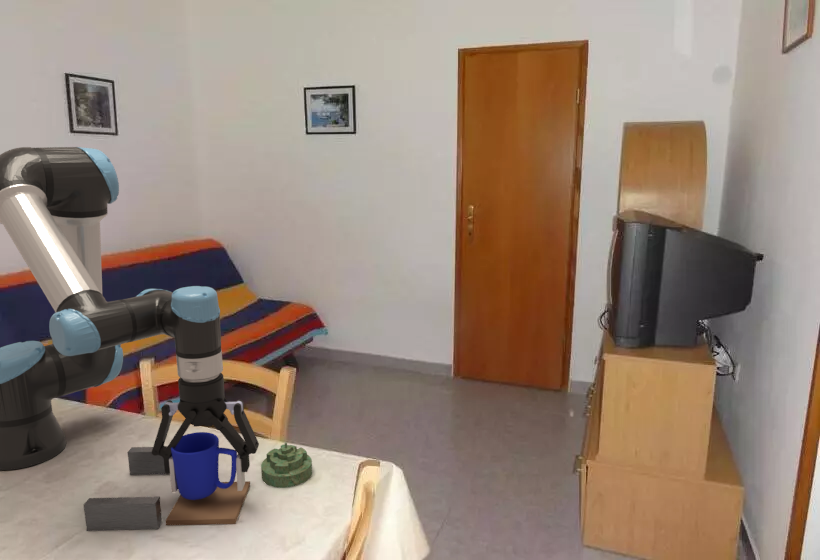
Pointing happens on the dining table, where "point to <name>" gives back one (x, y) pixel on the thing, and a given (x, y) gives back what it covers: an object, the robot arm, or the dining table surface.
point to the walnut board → (210, 507)
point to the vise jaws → (128, 500)
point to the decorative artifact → (286, 467)
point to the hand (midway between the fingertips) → (208, 487)
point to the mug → (200, 465)
